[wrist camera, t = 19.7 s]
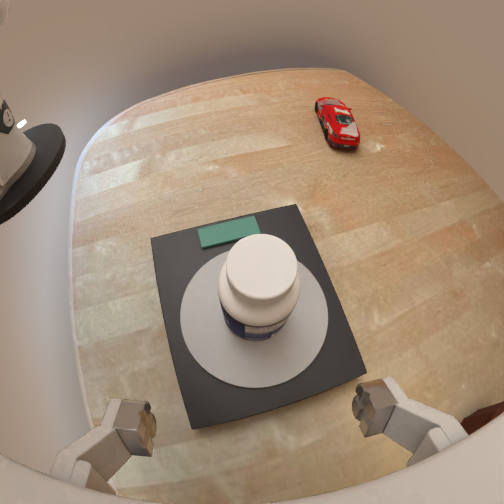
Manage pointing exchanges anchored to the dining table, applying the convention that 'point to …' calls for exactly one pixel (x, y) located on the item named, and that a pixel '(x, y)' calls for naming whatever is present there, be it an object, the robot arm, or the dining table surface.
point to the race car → (337, 123)
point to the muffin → (482, 417)
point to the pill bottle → (258, 287)
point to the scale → (240, 351)
